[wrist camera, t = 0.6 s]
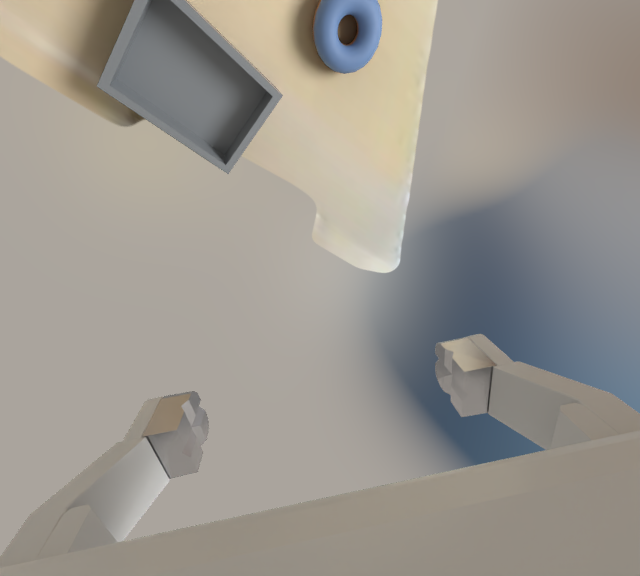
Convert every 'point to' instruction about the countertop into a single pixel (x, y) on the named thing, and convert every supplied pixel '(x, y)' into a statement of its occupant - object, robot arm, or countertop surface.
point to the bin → (188, 80)
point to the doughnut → (356, 54)
